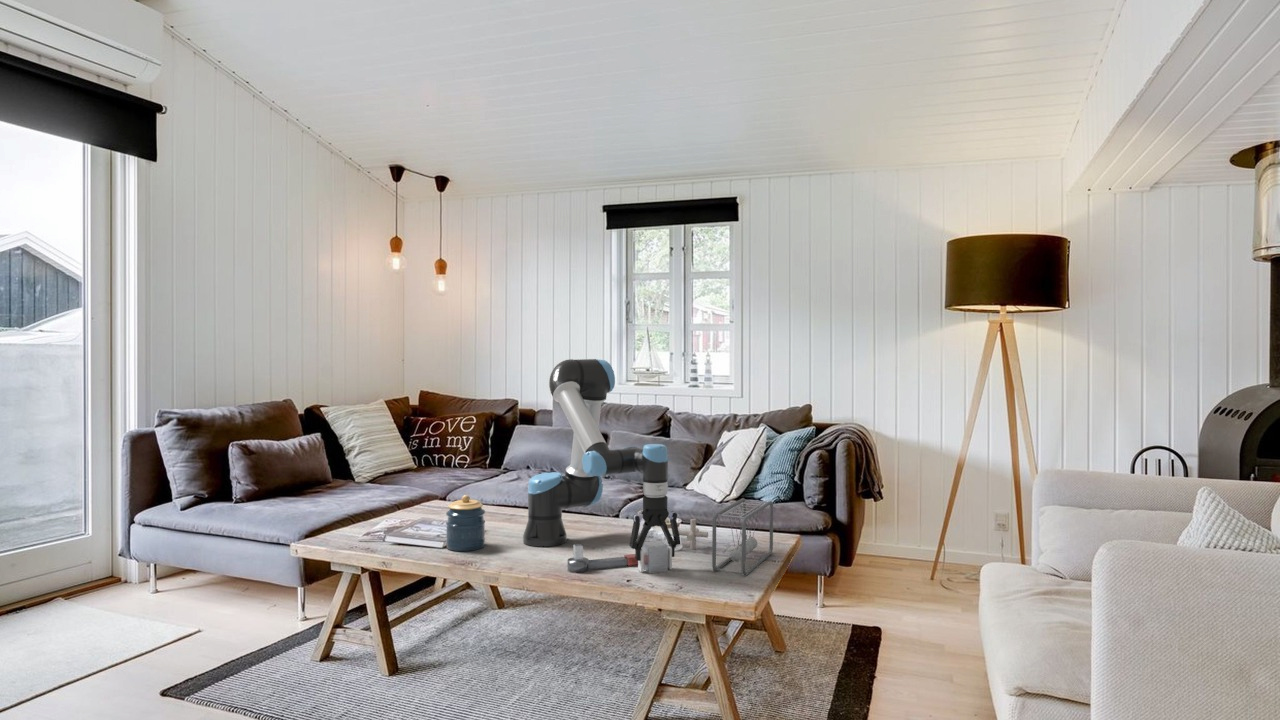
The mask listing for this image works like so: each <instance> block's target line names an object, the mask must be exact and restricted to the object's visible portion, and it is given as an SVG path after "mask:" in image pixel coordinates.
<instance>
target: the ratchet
mask: <svg viewBox="0 0 1280 720" xmlns="http://www.w3.org/2000/svg"><path fill="white" fill-rule="evenodd" d="M572 548H573V552H572V554H573V556H572V557H570V558H568V559H567V571H568V572H569V571H570V573H573V572H576V573H577V574H581V572H582V573H586V572H588V571H592V570H591V569H593V570H600V569H599V568H603V569H609V568H608V567H613V568H618V567H617V566H623V567H633V566H632V565H635V566H638V561H637V560H636V558H635V553H633V554H632V553H630V554H625V555H624V554H623V555H624V556H618V557H617V556H616V557H606V558H597V559H596V558H595V559H589V558H588V557H584V546H583V544H581V543H576V544H573V545H572ZM627 565H628V566H627ZM585 571H586V572H585Z"/></svg>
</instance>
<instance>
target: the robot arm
mask: <svg viewBox="0 0 1280 720" xmlns="http://www.w3.org/2000/svg"><path fill="white" fill-rule="evenodd" d="M548 383H549V384H548V385H549V391H550V394H551V396H552V398H553V400H554V401H555V402H557V403H559V406H560V407H561V409H562V411H563V413H564V415H565V418H567V422H568V423H569V425H570V427H571V429H572V431H573V437H572V447H571V457H570V464H569V465H568V466H566V468H565V473H564V475H562V474H561V473H560V472H555V471H552V472H543V473H540V474H539V473H538V474H536V475H534V476H532V477H531V478H530V479H529V481H528V488H527V497H528V501H527V503H528V505H527V506H528V509H527V511H528V518H527V519H528V520H527V523H526V525H525V529H524V532H523V536H522V541H523V544H524V545H527V546H532V547H543V546H544V547H555V546H560V545H563V544H565V543H566V542H567V537H568V536H567V531H566V528H565V526H564V523H563V519H562V514H563V513H562V512H563V510H569V509H577V508H586V507H589V506H594V505H596V504H597V503H598V502H599V501H600V499H601V497H602V496H603V490H604V489H603V488H604V485H603V483H602V482H603V479H602V477H603V476H608V475H616V474H628V473H629V474H630V473H640V474H642V494H643V495H644V496H642V512H641V513H640V514H633V515H632V520H633V524H632V529H631V535H630V539H629V543H628V544H629V545H628V546H629V547H630V548H631V549H633V550H635V551H634V554H635V558H636V560H637V561H638V565H637V571H639V572H640V573H644V571H645V570H644V550H642V546H643V544H644V542H646V538H647V537H648V534H649V531H650V530H651V529H652V528H653V527H660V528H661V530H662V533H663V535H664V537H665V540H666V542H667V543H668V544H667V545H668V569H669V570H672V569H673V558H675V557H676V556H675V552H676V551H675V549H676V547H677V545H678V546H679V545H681V543H682V542H681V539H680V537H681V535H679V528H678V522H677V520H678V519H677V518H678V514H677V512H675V511H669V510H668V496H667V495H668V470H669V469H668V468H669V467H668V465H669V463H668V462H669V456H668V447H667V446H666V445H665V444H661V443H659V444H658V443H648V444H644V445H643V446H642V447H643V448H642V447H637V446H627V447H624V448H622V449H621V448H620V449H617V448H616V449H610V447H609V446H608V444H607V442H606V440H605V438H604V436H603V435H602V433H601V431H600V429H599V428H600V419H601V418H600V417H601V411H602V403H604V402H605V401H606V400H607V397H608V396H607V395H608V394H607V393H610V392H612V391H613V389H614V388H615V385H616V384H615V383H616V376H615V372H614V368H613V367H612V364H610V363H609V362H608V361H607V360H604V359H599V358H598V359H597V358H589V359H588V358H587V359H585V358H583V359H573V358H572V359H565V360H562V361H561V362H559V363H558V364H556V365H555V366H554V368H553V369H552V371H551V373H550V375H549V382H548ZM667 518H668V519H669V523H670V527H671V532H670V530H669V528H668V525H667V522H666V520H667ZM642 519H643V520H644V522H643V525H642V529H641V530H640V526H641V522H642ZM639 532H640V533H639ZM671 533H672V534H671Z"/></svg>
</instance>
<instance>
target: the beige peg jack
mask: <svg viewBox="0 0 1280 720" xmlns="http://www.w3.org/2000/svg"><path fill="white" fill-rule="evenodd" d="M696 525H697V519H696V518H690V525H689V526H690V527H689V529H690V530H686V529H685V530H683V529H678V531H679V536H680V537H681V536H683V537H686V540H688V541H690V543H689V544H690V545H689V546H690V547H689V549H690V550H692V549H694V550H697V549H696V548H697V545H696V544H697V543H696V541H697V540H696V538H707V539H708V537H709V533H708V532H707V531H700V529H699V528H697V526H696Z"/></svg>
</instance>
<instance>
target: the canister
mask: <svg viewBox="0 0 1280 720" xmlns="http://www.w3.org/2000/svg"><path fill="white" fill-rule="evenodd" d="M483 506H484V504H483V503H481V502H480V501H479V500H478V499H477V500H476V499H470V496H469V495H468V494H464V495H462V497H461V499H458V500H455V501H453V502H452V503H450V504H448V508H449V509H448V511H446V512H445V514H446V516H447V521H446V522H445V525H446V540H445V545H446V549H447V550H450V551H453V552H469V551H470V550H472V551H477V550H480V549H482V548H483V547H485V543H486V537H485V536H486V535H485V533H486V532H485V531H486V530H485V529H486V528H485V527H486V525H485V523H486V520H485V517H484V516H485V514H486V510H485V509H483ZM470 552H471V551H470Z"/></svg>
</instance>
